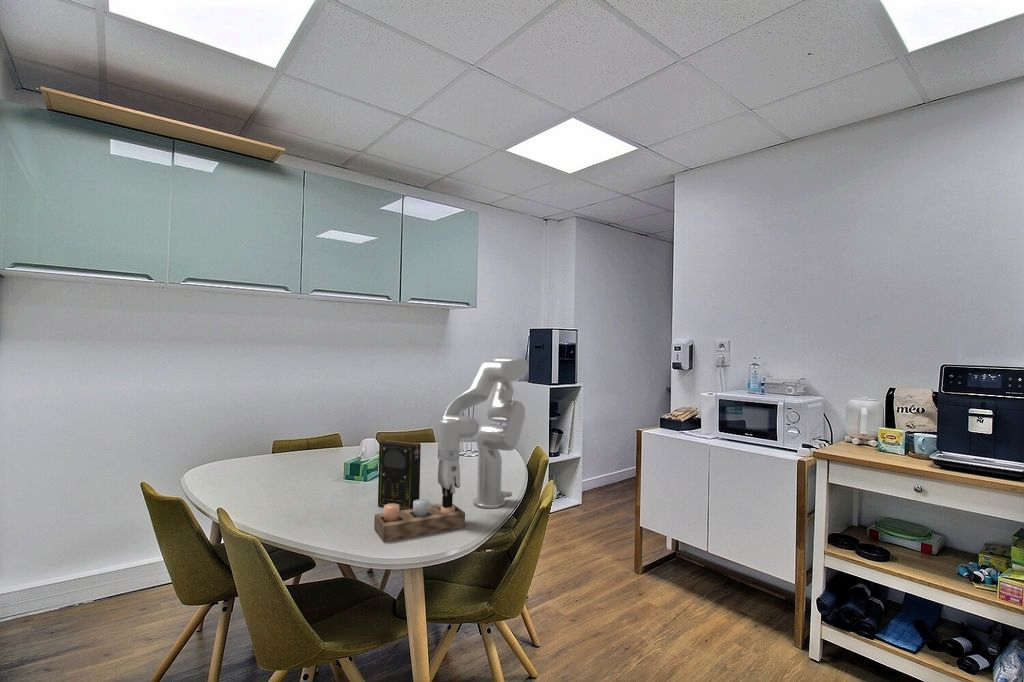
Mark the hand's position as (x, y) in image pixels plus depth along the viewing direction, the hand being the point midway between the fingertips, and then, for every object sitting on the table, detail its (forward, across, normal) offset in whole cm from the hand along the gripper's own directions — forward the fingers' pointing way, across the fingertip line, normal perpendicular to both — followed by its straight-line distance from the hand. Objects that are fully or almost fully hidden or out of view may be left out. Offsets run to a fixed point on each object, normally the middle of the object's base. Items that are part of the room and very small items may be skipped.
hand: (447, 506), depth 167 cm
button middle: (+2, 0, +10) cm, 10 cm away
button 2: (+5, 0, 0) cm, 5 cm away
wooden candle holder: (+6, 0, +10) cm, 11 cm away
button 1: (+2, 0, +20) cm, 20 cm away
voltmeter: (+6, +25, +10) cm, 28 cm away
